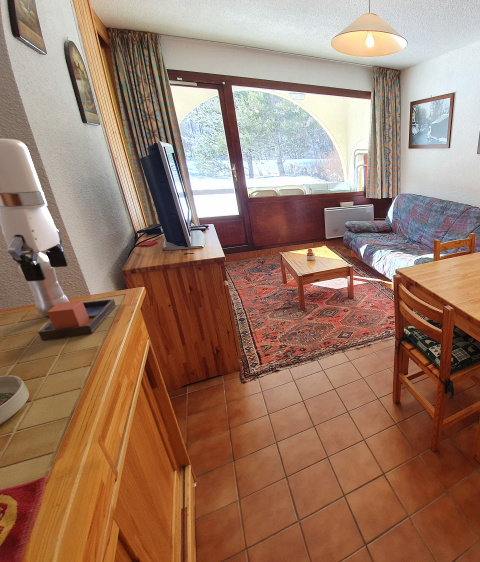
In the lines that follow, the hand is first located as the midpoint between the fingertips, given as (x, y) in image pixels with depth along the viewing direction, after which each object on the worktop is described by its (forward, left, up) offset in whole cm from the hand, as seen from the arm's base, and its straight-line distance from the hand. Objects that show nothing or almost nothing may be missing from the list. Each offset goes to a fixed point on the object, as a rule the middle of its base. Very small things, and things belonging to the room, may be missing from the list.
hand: (48, 273), depth 74 cm
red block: (0, 0, -15) cm, 15 cm away
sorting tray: (0, +4, -16) cm, 16 cm away
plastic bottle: (-9, +12, -16) cm, 22 cm away
